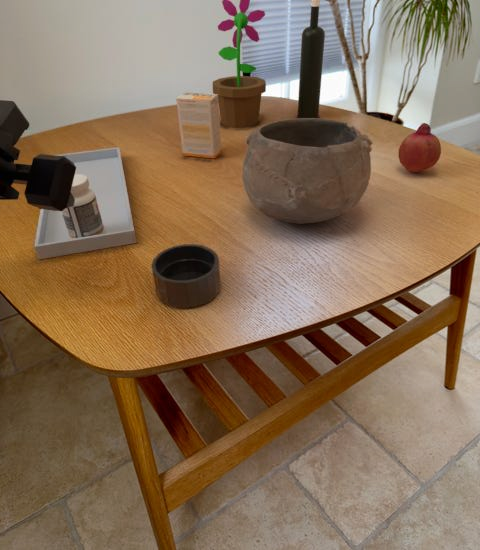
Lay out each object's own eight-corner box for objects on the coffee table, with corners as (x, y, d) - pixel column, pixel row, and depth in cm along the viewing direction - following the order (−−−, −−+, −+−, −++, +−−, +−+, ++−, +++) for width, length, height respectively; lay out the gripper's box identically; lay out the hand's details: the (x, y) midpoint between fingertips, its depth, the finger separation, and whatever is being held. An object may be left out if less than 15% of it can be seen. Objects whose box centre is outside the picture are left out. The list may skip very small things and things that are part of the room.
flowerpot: (269, 115, 124) (271, -10, 106) (260, 131, 113) (260, -5, 95) (221, 112, 127) (215, -10, 109) (207, 128, 116) (198, -5, 98)
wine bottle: (300, 113, 125) (308, -12, 107) (320, 115, 123) (331, -12, 105) (294, 119, 120) (301, -10, 102) (315, 121, 119) (325, -10, 101)
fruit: (390, 175, 89) (400, 127, 83) (398, 161, 95) (408, 115, 89) (432, 182, 86) (445, 132, 80) (438, 167, 92) (450, 120, 86)
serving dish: (38, 259, 68) (33, 246, 66) (52, 165, 98) (49, 155, 97) (136, 243, 71) (134, 230, 69) (121, 157, 101) (119, 147, 100)
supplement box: (222, 152, 102) (219, 93, 94) (214, 159, 98) (211, 99, 91) (190, 148, 104) (184, 91, 96) (181, 156, 101) (175, 97, 93)
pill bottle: (107, 225, 75) (94, 171, 69) (102, 242, 70) (87, 186, 64) (73, 227, 74) (57, 173, 69) (66, 245, 70) (48, 189, 64)
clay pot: (220, 209, 79) (216, 127, 70) (303, 178, 89) (308, 102, 80) (301, 260, 66) (308, 166, 57) (387, 217, 76) (405, 131, 66)
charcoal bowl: (161, 315, 56) (156, 288, 54) (152, 276, 63) (147, 250, 61) (227, 301, 58) (226, 274, 56) (212, 264, 65) (210, 239, 63)
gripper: (42, 85, 45) (116, 151, 60) (-97, 78, 49) (4, 141, 64) (16, 187, 44) (98, 228, 59) (-125, 170, 48) (-15, 212, 63)
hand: (45, 199), depth 61 cm, fingers open, 9 cm apart
